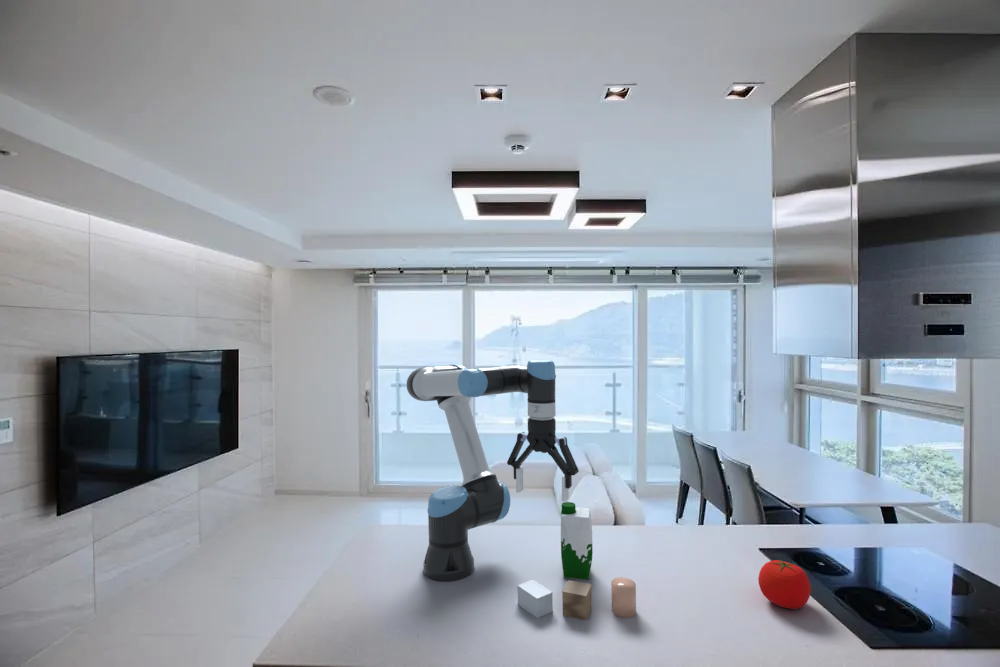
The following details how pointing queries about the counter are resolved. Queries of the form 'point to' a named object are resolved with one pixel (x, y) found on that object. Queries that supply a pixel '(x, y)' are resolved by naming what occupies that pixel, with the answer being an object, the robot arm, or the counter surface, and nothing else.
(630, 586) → the peach domed cylinder
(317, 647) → the counter surface
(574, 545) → the milk carton
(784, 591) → the tomato
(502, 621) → the counter surface
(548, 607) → the grey brick
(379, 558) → the counter surface
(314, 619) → the counter surface
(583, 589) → the walnut cube
